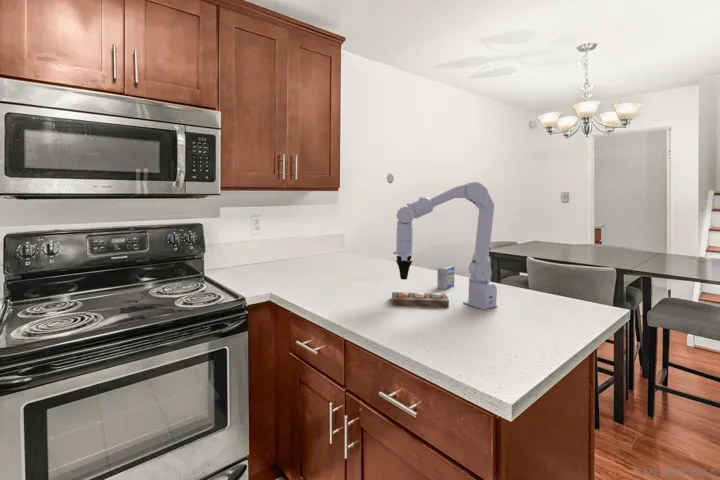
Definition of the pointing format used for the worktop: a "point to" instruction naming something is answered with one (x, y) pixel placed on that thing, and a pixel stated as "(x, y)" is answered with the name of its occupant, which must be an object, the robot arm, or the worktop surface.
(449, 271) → the medicine box
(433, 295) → the sage button
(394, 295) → the button panel
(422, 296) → the cream button
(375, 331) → the worktop surface
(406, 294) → the terracotta button
